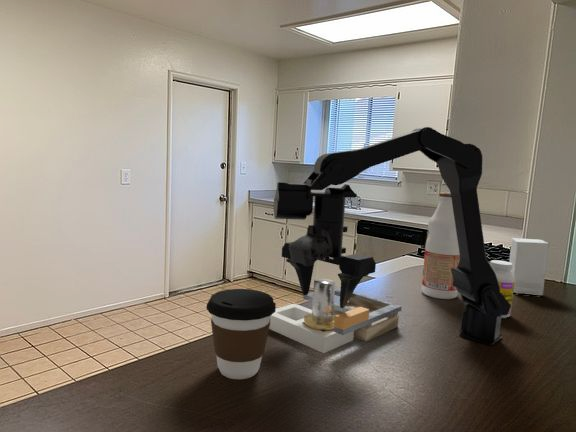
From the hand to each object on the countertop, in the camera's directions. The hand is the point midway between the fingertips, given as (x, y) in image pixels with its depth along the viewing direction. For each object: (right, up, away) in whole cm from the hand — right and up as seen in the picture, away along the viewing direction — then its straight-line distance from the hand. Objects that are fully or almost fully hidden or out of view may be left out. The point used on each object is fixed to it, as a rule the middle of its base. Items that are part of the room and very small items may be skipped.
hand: (323, 300), depth 81 cm
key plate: (+4, -3, +7) cm, 8 cm away
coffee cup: (-15, -9, -13) cm, 21 cm away
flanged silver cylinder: (0, -7, +1) cm, 7 cm away
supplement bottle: (+43, -8, +21) cm, 49 cm away
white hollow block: (-3, -7, +3) cm, 8 cm away
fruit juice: (+35, -5, +35) cm, 50 cm away
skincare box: (+62, -6, +41) cm, 74 cm away
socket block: (+8, -7, +9) cm, 14 cm away
